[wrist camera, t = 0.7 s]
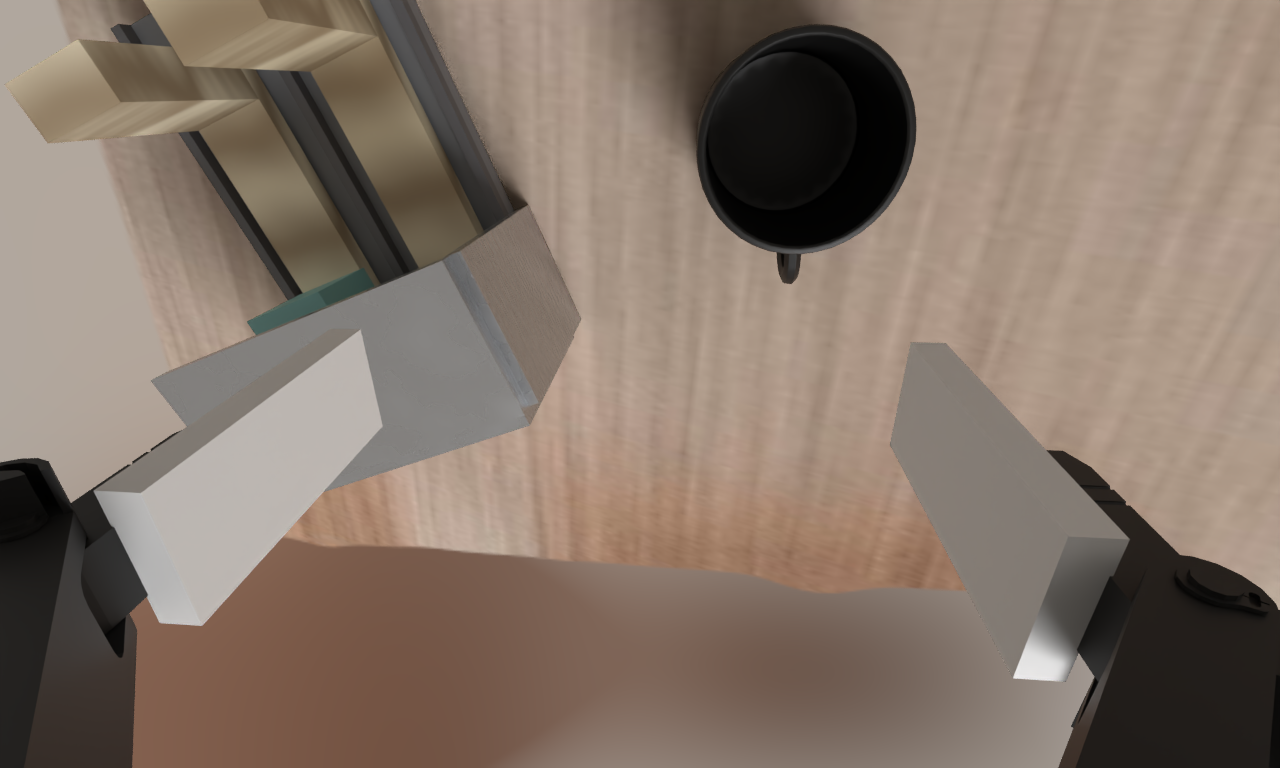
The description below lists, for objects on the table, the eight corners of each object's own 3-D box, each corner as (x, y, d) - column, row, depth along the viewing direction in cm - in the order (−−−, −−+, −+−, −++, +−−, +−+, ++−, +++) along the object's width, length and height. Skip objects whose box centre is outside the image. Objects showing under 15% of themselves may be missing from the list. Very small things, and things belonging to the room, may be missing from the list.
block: (299, 294, 39) (246, 321, 34) (363, 267, 38) (318, 291, 33) (343, 362, 41) (298, 396, 36) (405, 338, 39) (367, 370, 35)
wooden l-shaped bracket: (183, 81, 35) (-1, 78, 26) (242, 47, 34) (73, 32, 25) (367, 373, 42) (275, 451, 33) (421, 353, 41) (341, 428, 32)
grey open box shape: (303, 299, 42) (150, 380, 30) (528, 204, 38) (451, 256, 26) (373, 408, 45) (260, 519, 33) (587, 332, 41) (542, 429, 29)
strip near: (294, 19, 33) (138, -8, 24) (360, -18, 32) (224, -61, 23) (466, 335, 40) (398, 408, 31) (525, 314, 39) (472, 382, 30)
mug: (700, 264, 38) (700, 311, 30) (694, 47, 33) (693, 33, 25) (855, 257, 37) (898, 303, 29) (873, 32, 32) (932, 13, 24)
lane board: (140, 32, 35) (110, 28, 33) (366, -104, 32) (346, -115, 30) (364, 383, 44) (350, 396, 42) (561, 311, 41) (555, 321, 39)
